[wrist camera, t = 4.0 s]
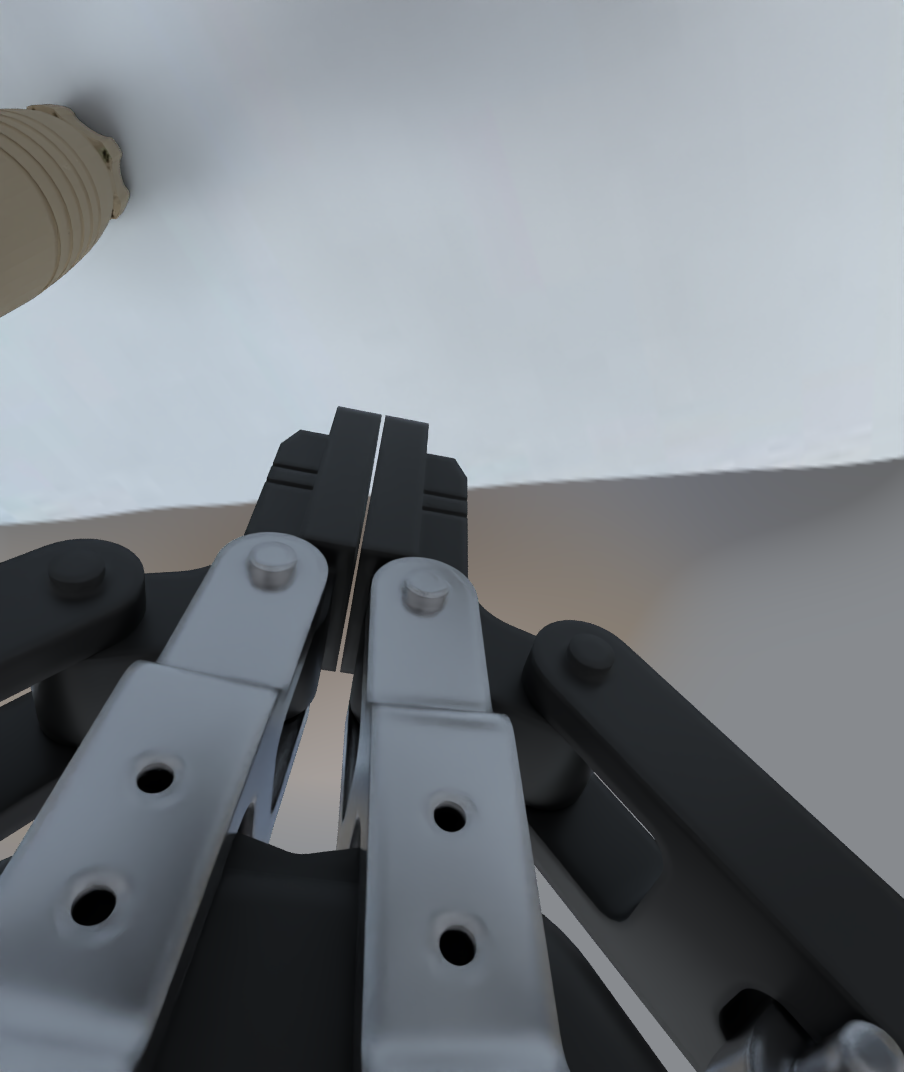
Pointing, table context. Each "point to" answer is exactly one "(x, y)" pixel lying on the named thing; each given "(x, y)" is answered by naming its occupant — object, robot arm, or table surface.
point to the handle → (51, 197)
